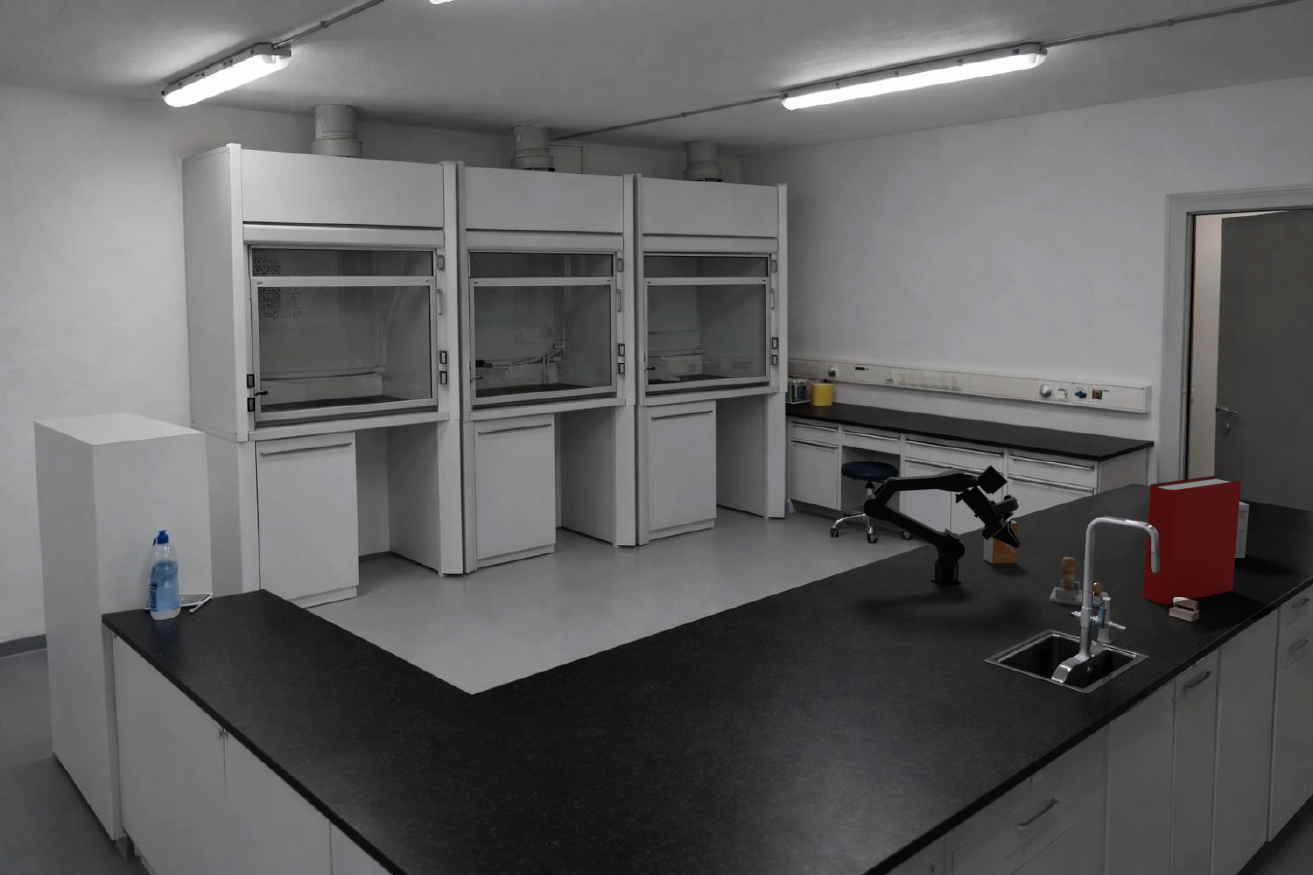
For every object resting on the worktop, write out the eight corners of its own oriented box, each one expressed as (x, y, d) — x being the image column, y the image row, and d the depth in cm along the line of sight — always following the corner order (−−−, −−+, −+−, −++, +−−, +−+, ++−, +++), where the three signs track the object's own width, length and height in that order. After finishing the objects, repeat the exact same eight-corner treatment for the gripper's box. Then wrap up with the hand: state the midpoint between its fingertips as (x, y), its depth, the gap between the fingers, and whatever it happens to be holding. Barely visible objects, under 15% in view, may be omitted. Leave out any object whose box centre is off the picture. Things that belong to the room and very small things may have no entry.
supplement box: (1246, 559, 316) (1250, 504, 313) (1203, 559, 317) (1207, 505, 314) (1223, 547, 329) (1227, 495, 327) (1182, 548, 330) (1186, 496, 327)
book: (1206, 583, 292) (1215, 475, 287) (1232, 590, 285) (1241, 480, 280) (1139, 596, 281) (1146, 484, 276) (1164, 604, 274) (1172, 490, 269)
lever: (1059, 595, 279) (1061, 560, 278) (1062, 588, 285) (1064, 555, 283) (1072, 596, 277) (1074, 562, 276) (1075, 590, 283) (1077, 556, 281)
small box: (992, 564, 314) (993, 523, 312) (982, 558, 321) (984, 519, 319) (1016, 563, 316) (1018, 522, 313) (1006, 557, 322) (1008, 517, 320)
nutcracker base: (1049, 601, 278) (1050, 582, 278) (1054, 590, 288) (1055, 572, 287) (1104, 608, 272) (1105, 589, 271) (1107, 597, 281) (1109, 578, 280)
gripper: (995, 493, 280) (1035, 536, 276) (1007, 481, 296) (1045, 521, 292) (965, 518, 285) (1004, 560, 281) (978, 505, 301) (1015, 545, 297)
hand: (1018, 546), depth 288 cm, fingers closed
